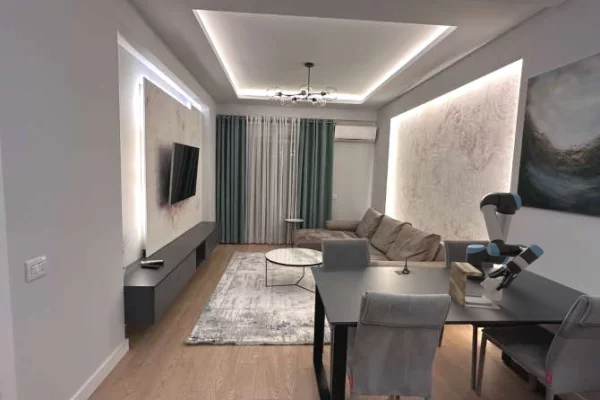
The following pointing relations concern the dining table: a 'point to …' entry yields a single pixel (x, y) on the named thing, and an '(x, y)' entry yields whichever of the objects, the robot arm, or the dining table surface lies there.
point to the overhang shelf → (460, 280)
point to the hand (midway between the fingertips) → (486, 289)
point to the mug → (489, 285)
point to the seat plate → (479, 301)
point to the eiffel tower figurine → (405, 270)
